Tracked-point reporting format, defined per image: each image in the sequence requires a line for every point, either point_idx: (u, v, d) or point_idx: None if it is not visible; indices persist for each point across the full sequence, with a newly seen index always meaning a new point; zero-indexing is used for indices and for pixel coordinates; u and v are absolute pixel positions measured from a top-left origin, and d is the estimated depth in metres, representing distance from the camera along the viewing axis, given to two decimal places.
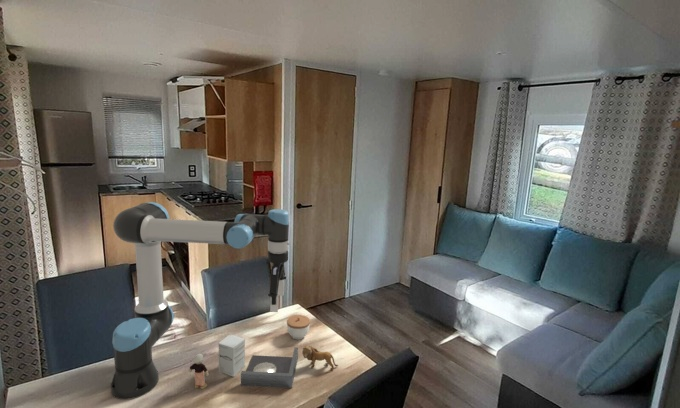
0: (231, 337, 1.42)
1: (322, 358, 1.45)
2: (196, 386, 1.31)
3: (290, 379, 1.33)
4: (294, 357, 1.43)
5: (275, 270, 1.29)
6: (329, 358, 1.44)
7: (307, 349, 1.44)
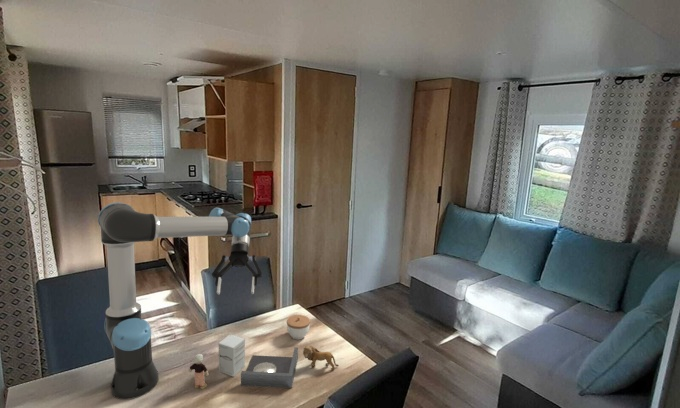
0: (231, 337, 1.42)
1: (323, 358, 1.44)
2: (196, 386, 1.31)
3: (290, 379, 1.33)
4: (294, 357, 1.43)
5: None
6: (330, 358, 1.44)
7: (308, 349, 1.44)
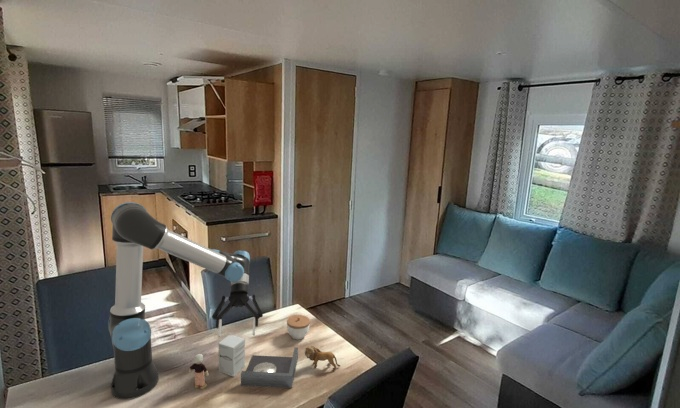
0: (231, 337, 1.42)
1: (325, 358, 1.44)
2: (196, 386, 1.31)
3: (290, 379, 1.33)
4: (294, 357, 1.43)
5: None
6: (332, 358, 1.44)
7: (310, 349, 1.43)
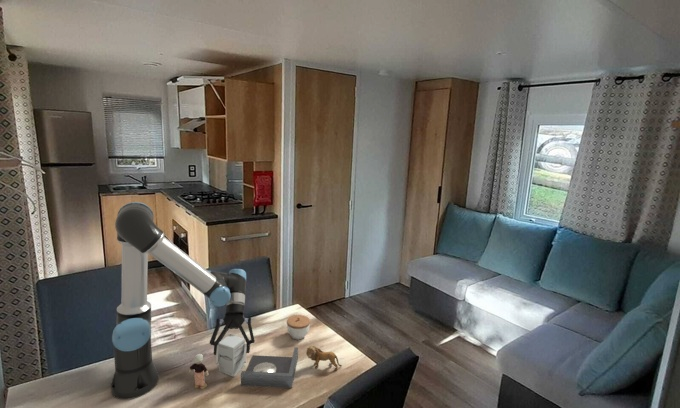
0: (231, 337, 1.42)
1: (326, 358, 1.45)
2: (196, 386, 1.31)
3: (290, 379, 1.33)
4: (294, 357, 1.43)
5: None
6: (333, 358, 1.44)
7: (311, 349, 1.44)
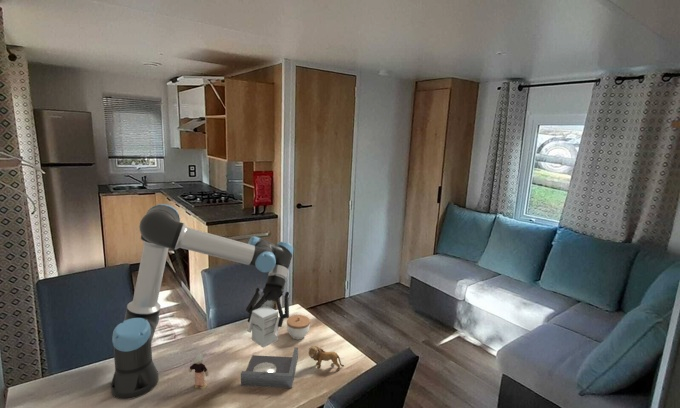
0: (266, 308, 1.39)
1: (328, 358, 1.45)
2: (196, 386, 1.31)
3: (290, 379, 1.33)
4: (294, 357, 1.43)
5: (289, 294, 1.44)
6: (335, 358, 1.44)
7: (313, 349, 1.44)
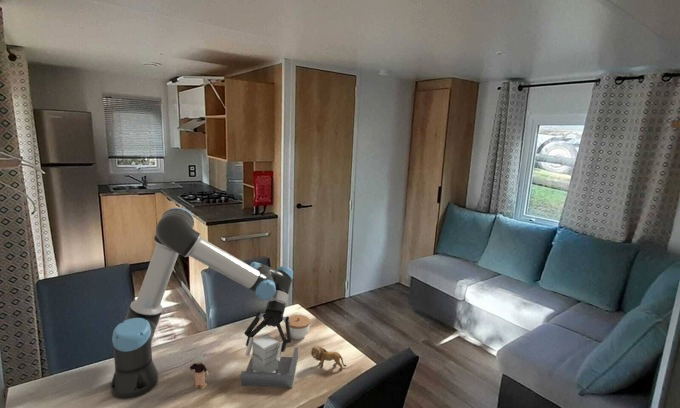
0: (266, 337, 1.42)
1: (331, 358, 1.45)
2: (196, 386, 1.31)
3: (290, 379, 1.33)
4: (294, 357, 1.43)
5: (289, 318, 1.46)
6: (338, 358, 1.44)
7: (316, 349, 1.44)
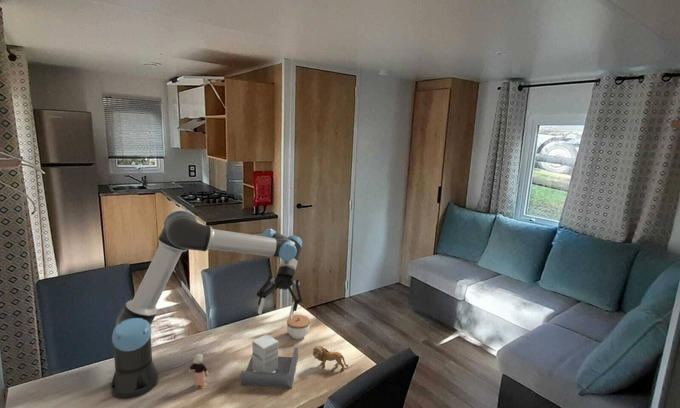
0: (266, 337, 1.42)
1: (333, 358, 1.45)
2: (196, 386, 1.31)
3: (290, 379, 1.33)
4: (294, 357, 1.43)
5: None
6: (340, 358, 1.44)
7: (318, 349, 1.44)
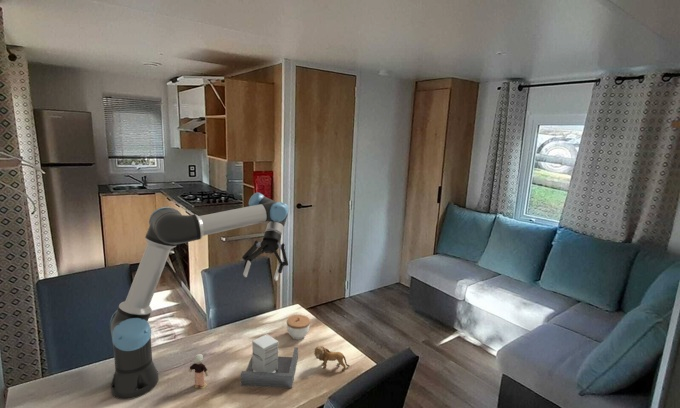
0: (266, 337, 1.42)
1: (334, 358, 1.45)
2: (196, 386, 1.31)
3: (290, 379, 1.33)
4: (294, 357, 1.43)
5: (284, 245, 1.58)
6: (341, 358, 1.44)
7: (319, 349, 1.44)
